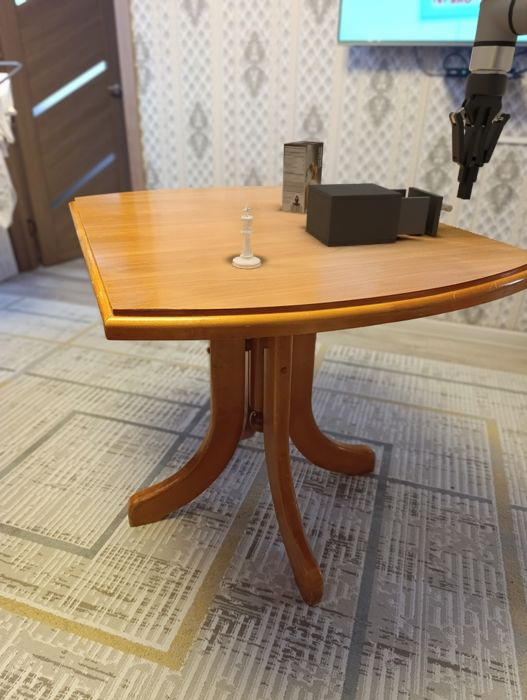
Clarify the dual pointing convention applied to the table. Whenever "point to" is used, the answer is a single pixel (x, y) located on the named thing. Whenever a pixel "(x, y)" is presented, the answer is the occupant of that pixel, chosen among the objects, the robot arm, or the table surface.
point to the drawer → (420, 212)
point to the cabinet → (353, 214)
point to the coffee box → (300, 173)
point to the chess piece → (246, 244)
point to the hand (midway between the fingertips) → (463, 198)
